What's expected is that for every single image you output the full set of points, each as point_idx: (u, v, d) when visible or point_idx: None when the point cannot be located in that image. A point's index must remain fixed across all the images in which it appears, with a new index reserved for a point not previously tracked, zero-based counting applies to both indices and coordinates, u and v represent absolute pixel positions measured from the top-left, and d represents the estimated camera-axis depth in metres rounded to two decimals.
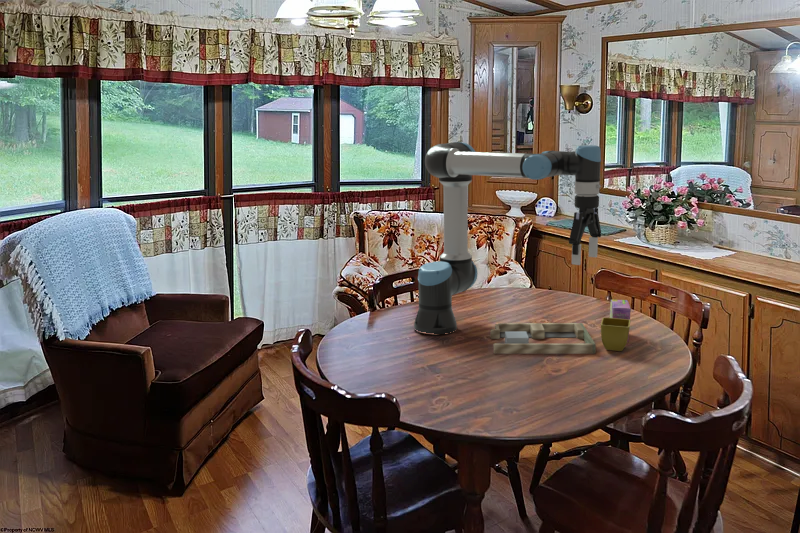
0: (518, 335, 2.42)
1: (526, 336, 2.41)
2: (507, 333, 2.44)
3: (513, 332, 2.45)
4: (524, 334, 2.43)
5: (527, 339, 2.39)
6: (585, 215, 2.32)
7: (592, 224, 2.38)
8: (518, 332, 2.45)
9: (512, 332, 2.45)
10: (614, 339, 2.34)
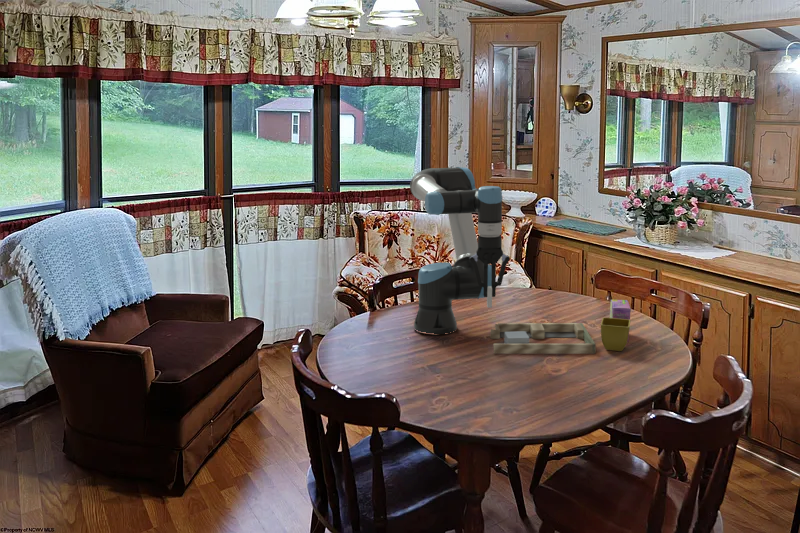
0: (518, 335, 2.42)
1: (526, 336, 2.41)
2: (507, 333, 2.44)
3: (513, 332, 2.45)
4: (523, 334, 2.43)
5: (528, 339, 2.40)
6: (480, 254, 2.37)
7: (491, 267, 2.37)
8: (518, 332, 2.45)
9: (512, 332, 2.45)
10: (614, 339, 2.34)
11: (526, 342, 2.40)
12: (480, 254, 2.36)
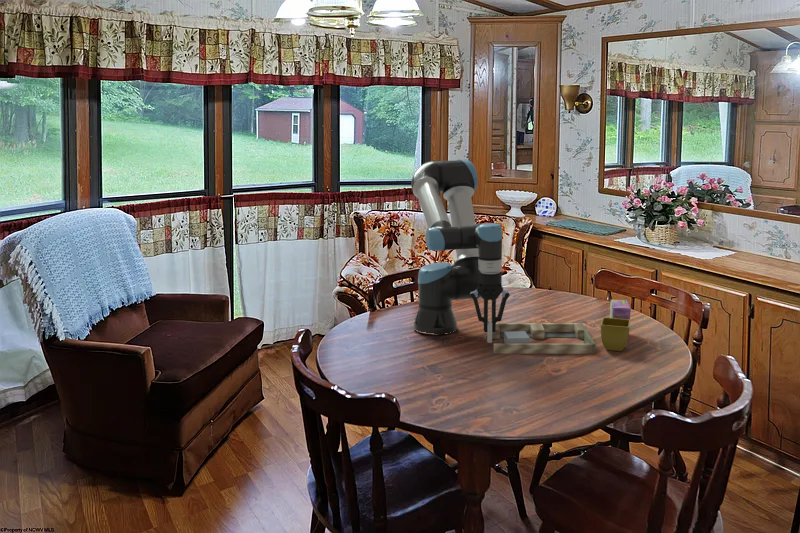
0: (518, 335, 2.42)
1: (526, 336, 2.41)
2: (507, 333, 2.44)
3: (513, 332, 2.45)
4: (523, 334, 2.43)
5: (528, 339, 2.40)
6: (480, 290, 2.39)
7: (492, 303, 2.40)
8: (517, 332, 2.45)
9: (511, 332, 2.45)
10: (614, 339, 2.34)
11: (526, 342, 2.40)
12: (480, 290, 2.39)
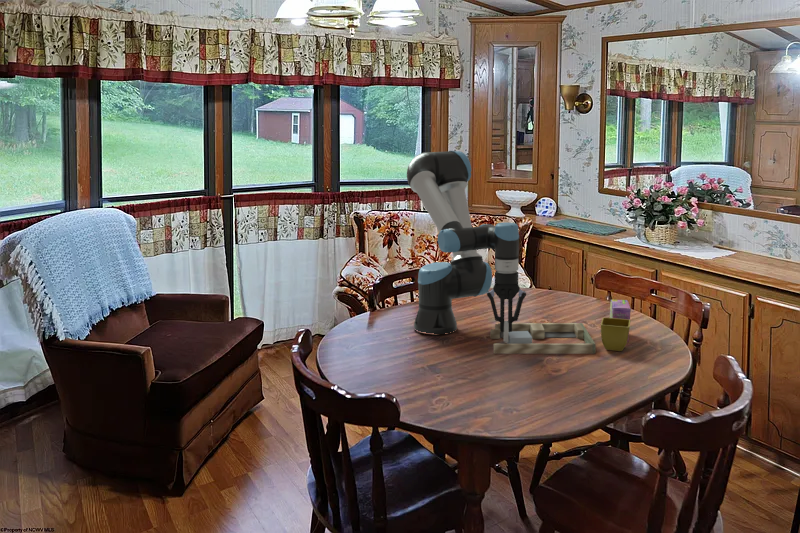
0: (521, 334, 2.42)
1: (529, 336, 2.41)
2: (509, 333, 2.44)
3: (515, 332, 2.45)
4: (526, 333, 2.43)
5: (530, 339, 2.40)
6: (497, 290, 2.39)
7: (508, 303, 2.40)
8: (520, 332, 2.45)
9: (514, 332, 2.45)
10: (614, 339, 2.34)
11: (529, 342, 2.40)
12: (497, 290, 2.39)
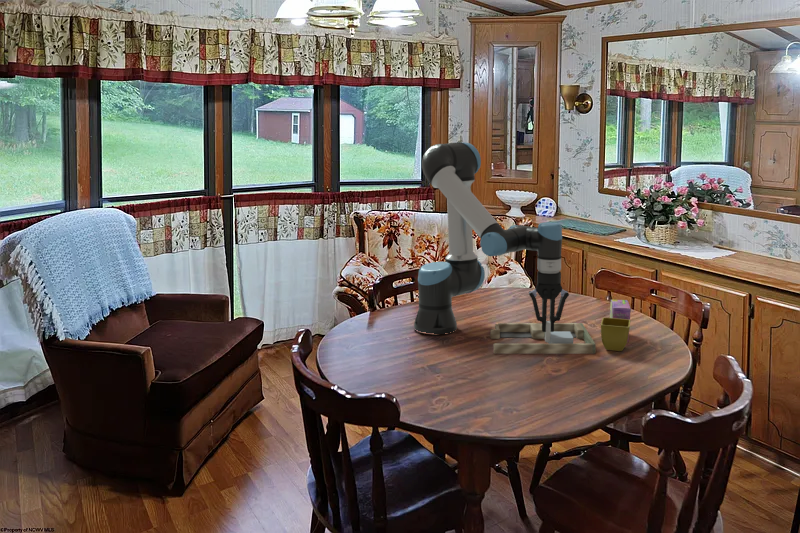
0: (562, 335, 2.41)
1: (571, 336, 2.39)
2: (551, 333, 2.43)
3: (557, 332, 2.44)
4: (568, 334, 2.42)
5: (572, 339, 2.38)
6: (539, 290, 2.38)
7: (550, 303, 2.39)
8: (562, 332, 2.44)
9: (556, 332, 2.44)
10: (614, 339, 2.34)
11: (570, 342, 2.38)
12: (539, 290, 2.38)
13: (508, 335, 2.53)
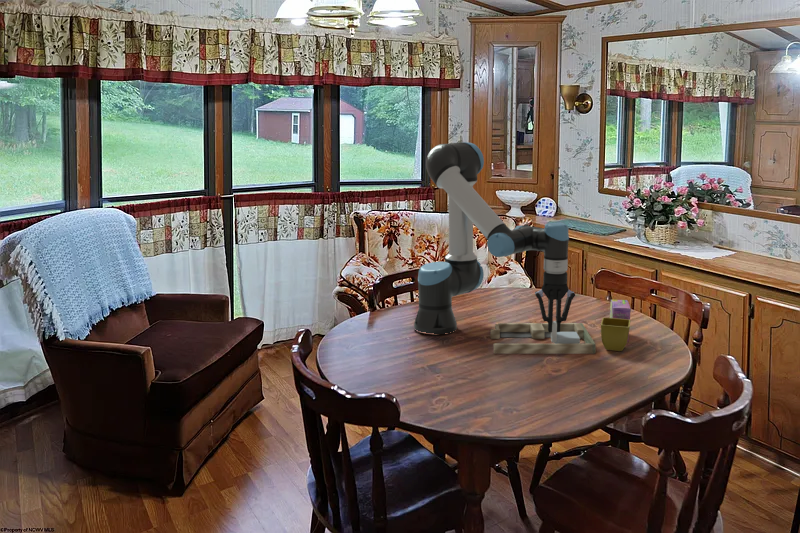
0: (569, 335, 2.41)
1: (577, 336, 2.39)
2: (557, 333, 2.43)
3: (563, 332, 2.44)
4: (574, 334, 2.42)
5: (578, 339, 2.38)
6: (546, 290, 2.38)
7: (557, 303, 2.39)
8: (568, 332, 2.44)
9: (562, 332, 2.44)
10: (614, 339, 2.34)
11: (576, 343, 2.38)
12: (546, 290, 2.38)
13: (508, 335, 2.53)
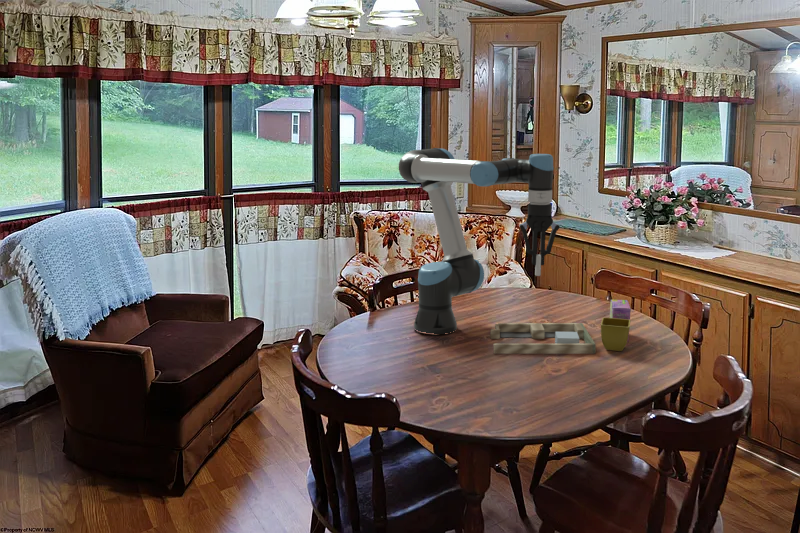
0: (569, 335, 2.41)
1: (577, 336, 2.39)
2: (557, 333, 2.43)
3: (564, 332, 2.44)
4: (574, 334, 2.42)
5: (578, 340, 2.38)
6: (530, 222, 2.36)
7: (541, 235, 2.37)
8: (569, 332, 2.44)
9: (562, 332, 2.44)
10: (614, 339, 2.34)
11: (576, 343, 2.38)
12: (530, 222, 2.36)
13: (508, 335, 2.53)
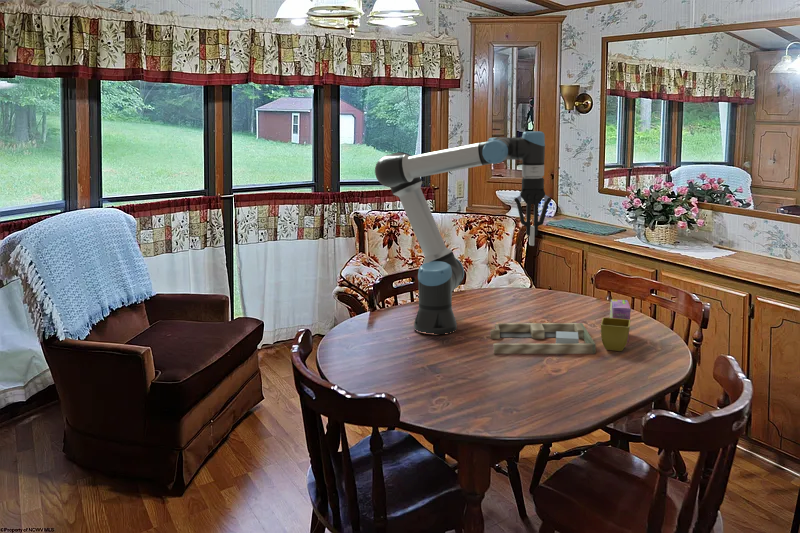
0: (569, 335, 2.41)
1: (576, 337, 2.39)
2: (558, 333, 2.43)
3: (564, 332, 2.44)
4: (574, 334, 2.41)
5: (577, 340, 2.38)
6: (524, 195, 2.54)
7: (534, 207, 2.55)
8: (569, 332, 2.44)
9: (563, 332, 2.44)
10: (614, 339, 2.34)
11: (575, 343, 2.38)
12: (524, 195, 2.54)
13: (508, 335, 2.53)
